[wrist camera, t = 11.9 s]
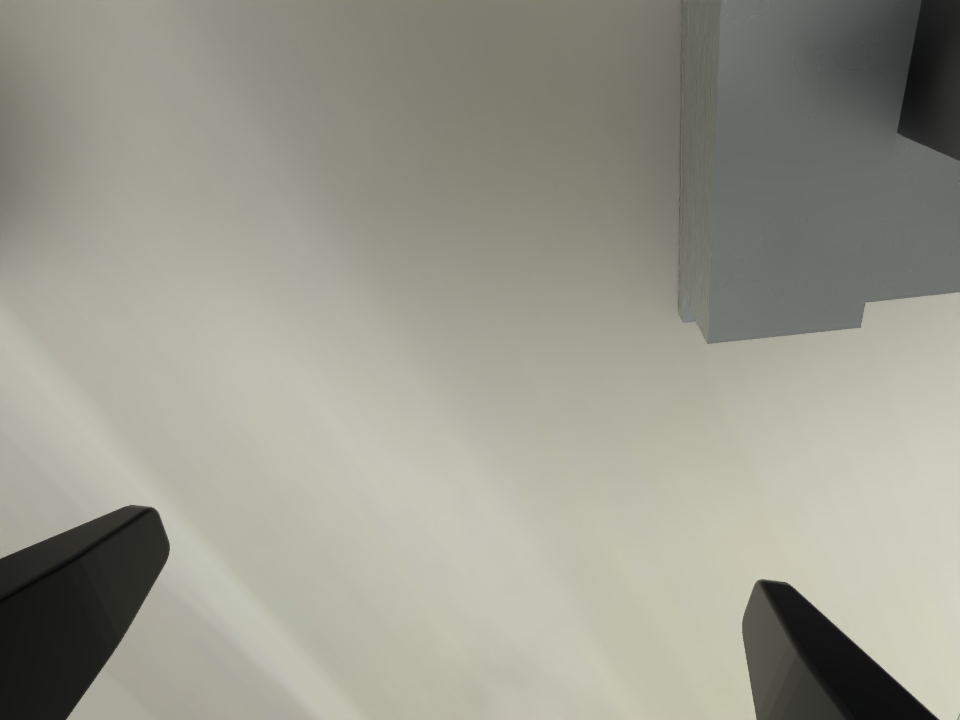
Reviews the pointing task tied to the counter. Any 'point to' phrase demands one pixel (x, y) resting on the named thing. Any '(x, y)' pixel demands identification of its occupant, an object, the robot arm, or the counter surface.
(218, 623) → the counter surface
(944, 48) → the grey and tan cylinder
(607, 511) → the counter surface
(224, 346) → the counter surface
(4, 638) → the robot arm
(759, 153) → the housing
